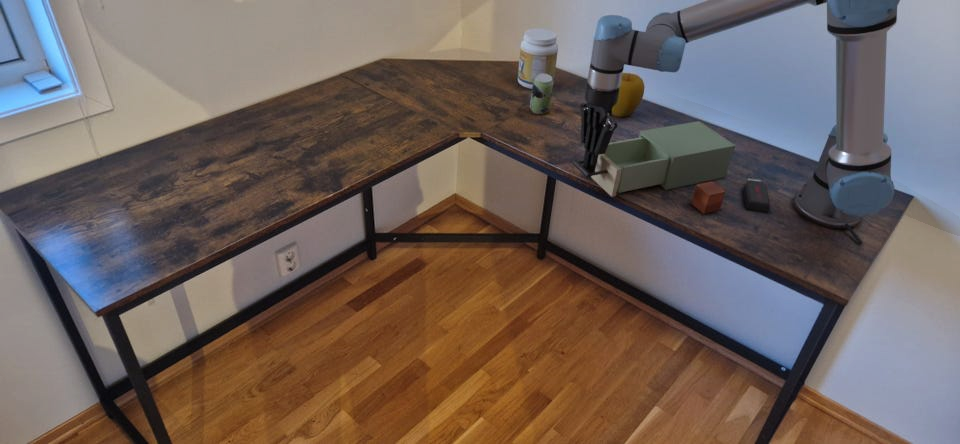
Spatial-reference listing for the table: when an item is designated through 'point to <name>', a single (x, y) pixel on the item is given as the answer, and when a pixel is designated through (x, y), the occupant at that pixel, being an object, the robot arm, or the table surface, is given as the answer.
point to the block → (708, 197)
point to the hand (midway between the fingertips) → (588, 173)
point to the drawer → (628, 166)
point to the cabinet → (691, 153)
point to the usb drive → (756, 195)
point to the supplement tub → (537, 55)
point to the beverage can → (541, 93)
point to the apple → (628, 95)
